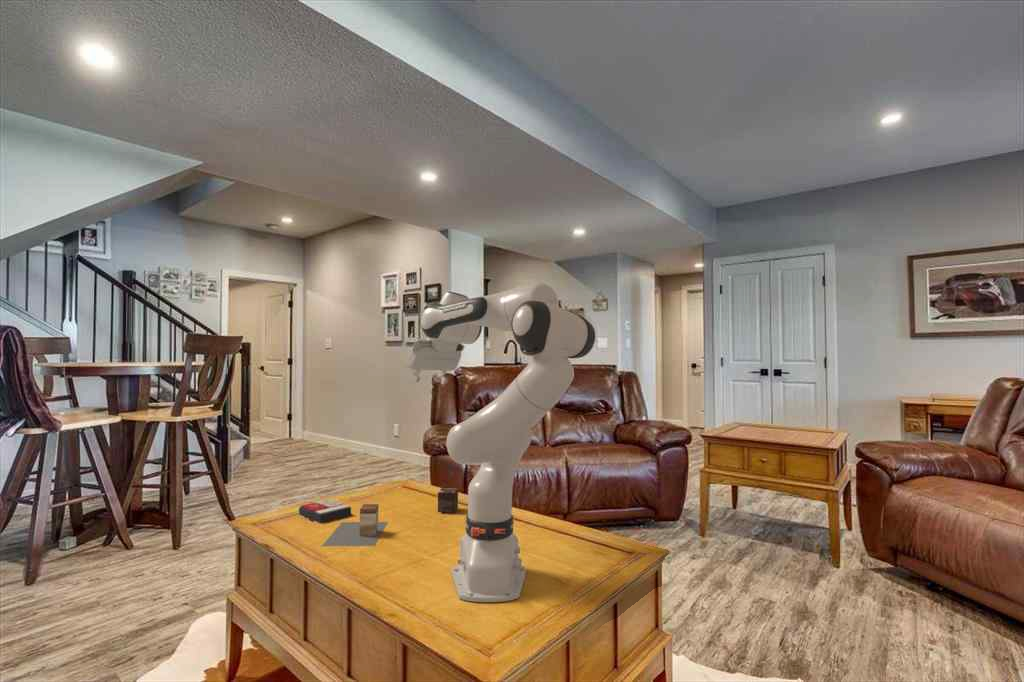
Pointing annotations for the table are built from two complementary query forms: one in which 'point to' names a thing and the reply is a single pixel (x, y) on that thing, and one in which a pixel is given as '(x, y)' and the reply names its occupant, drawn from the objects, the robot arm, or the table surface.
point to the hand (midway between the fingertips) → (426, 381)
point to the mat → (353, 535)
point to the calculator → (324, 511)
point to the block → (369, 519)
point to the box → (448, 500)
